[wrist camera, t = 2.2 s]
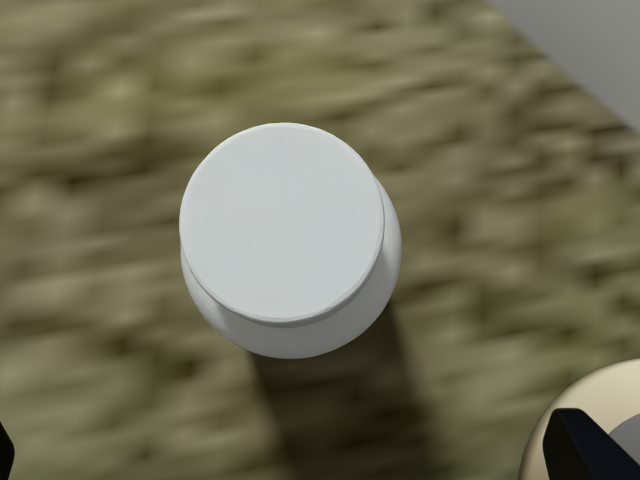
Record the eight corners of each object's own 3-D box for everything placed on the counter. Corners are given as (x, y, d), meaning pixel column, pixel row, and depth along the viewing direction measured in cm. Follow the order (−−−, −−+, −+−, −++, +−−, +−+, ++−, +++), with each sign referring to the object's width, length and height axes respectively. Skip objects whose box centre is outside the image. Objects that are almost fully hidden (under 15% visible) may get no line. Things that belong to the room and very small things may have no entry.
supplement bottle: (400, 327, 20) (463, 315, 10) (254, 374, 20) (177, 408, 10) (352, 187, 21) (369, 54, 11) (213, 231, 21) (106, 135, 11)
